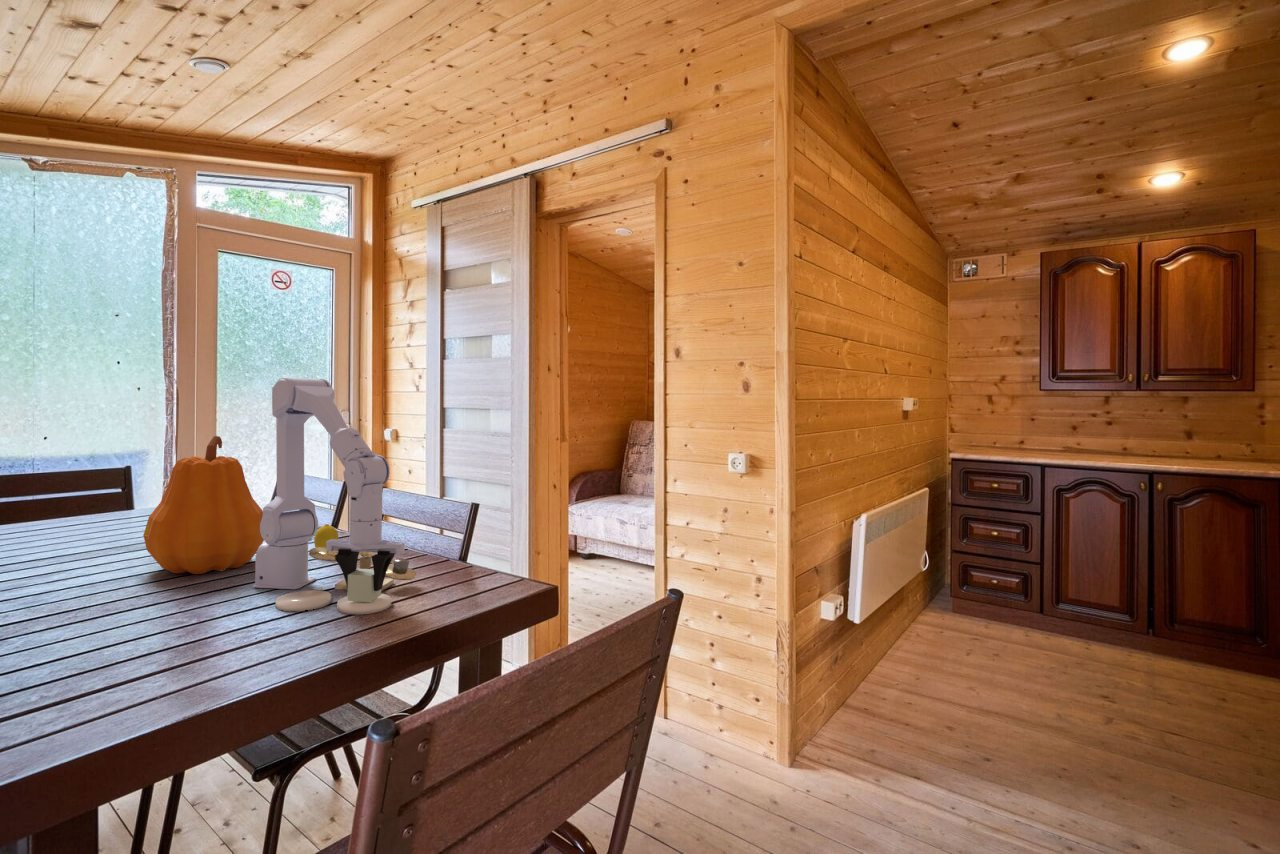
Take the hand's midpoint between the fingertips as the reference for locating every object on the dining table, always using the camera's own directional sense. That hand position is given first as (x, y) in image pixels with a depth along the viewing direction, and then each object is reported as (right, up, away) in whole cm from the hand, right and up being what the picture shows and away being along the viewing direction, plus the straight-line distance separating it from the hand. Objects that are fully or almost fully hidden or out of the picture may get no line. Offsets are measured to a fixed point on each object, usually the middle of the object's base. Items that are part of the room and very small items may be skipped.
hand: (364, 589), depth 128 cm
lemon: (-26, -1, +38) cm, 46 cm away
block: (0, -2, 0) cm, 2 cm away
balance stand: (-6, -3, +13) cm, 15 cm away
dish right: (0, -3, 0) cm, 3 cm away
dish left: (-12, -3, +1) cm, 12 cm away
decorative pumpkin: (-46, -1, +24) cm, 52 cm away
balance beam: (-6, +2, +13) cm, 15 cm away
